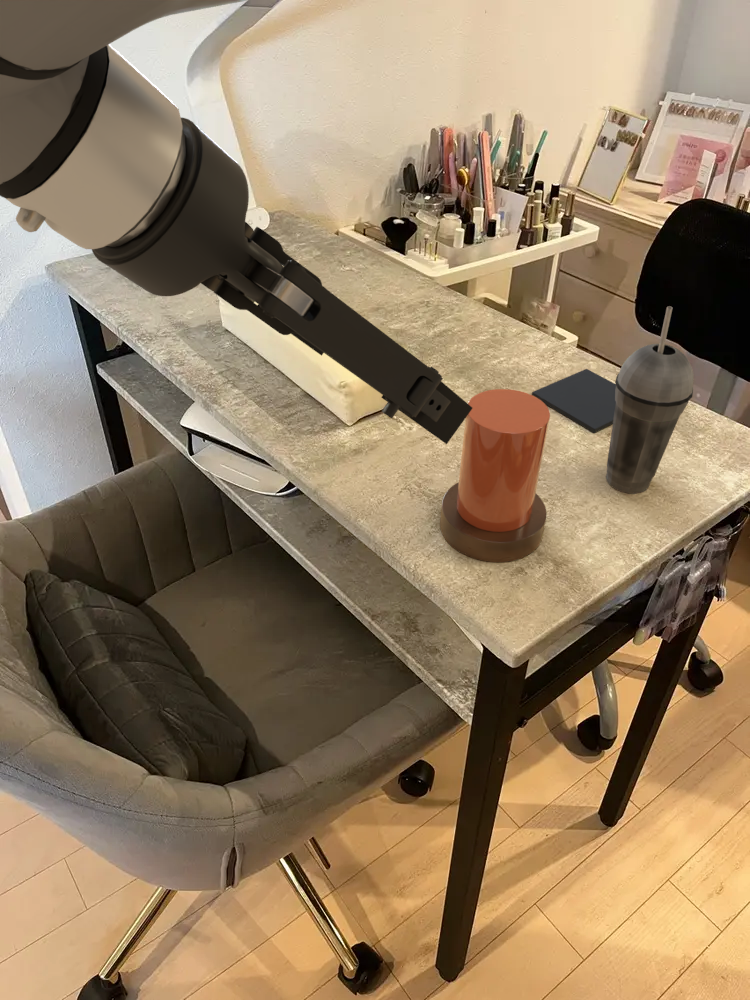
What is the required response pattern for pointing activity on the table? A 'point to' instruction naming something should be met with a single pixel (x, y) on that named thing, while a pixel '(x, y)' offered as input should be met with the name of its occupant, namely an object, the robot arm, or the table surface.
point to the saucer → (490, 533)
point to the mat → (582, 399)
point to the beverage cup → (647, 411)
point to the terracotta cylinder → (501, 459)
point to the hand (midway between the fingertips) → (387, 377)
